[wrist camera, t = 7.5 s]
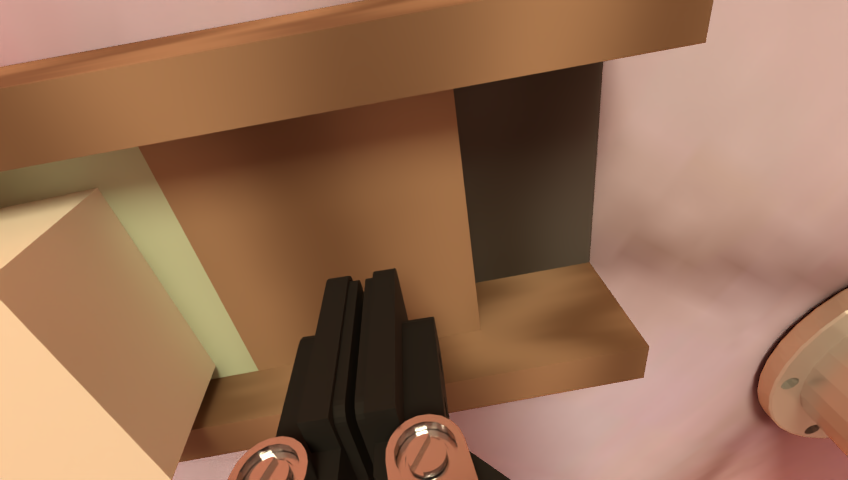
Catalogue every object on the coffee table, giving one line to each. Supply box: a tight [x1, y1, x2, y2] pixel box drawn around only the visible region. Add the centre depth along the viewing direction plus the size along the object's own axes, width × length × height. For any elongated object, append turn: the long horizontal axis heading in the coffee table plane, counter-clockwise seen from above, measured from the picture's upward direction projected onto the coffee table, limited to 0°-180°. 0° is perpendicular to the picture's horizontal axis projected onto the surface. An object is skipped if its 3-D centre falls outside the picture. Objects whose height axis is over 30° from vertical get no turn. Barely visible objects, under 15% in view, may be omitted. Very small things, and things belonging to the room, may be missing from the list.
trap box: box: [0, 0, 713, 462], centre depth 14 cm, size 28×12×5 cm, turn 99°
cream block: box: [0, 188, 216, 480], centre depth 12 cm, size 7×7×4 cm
